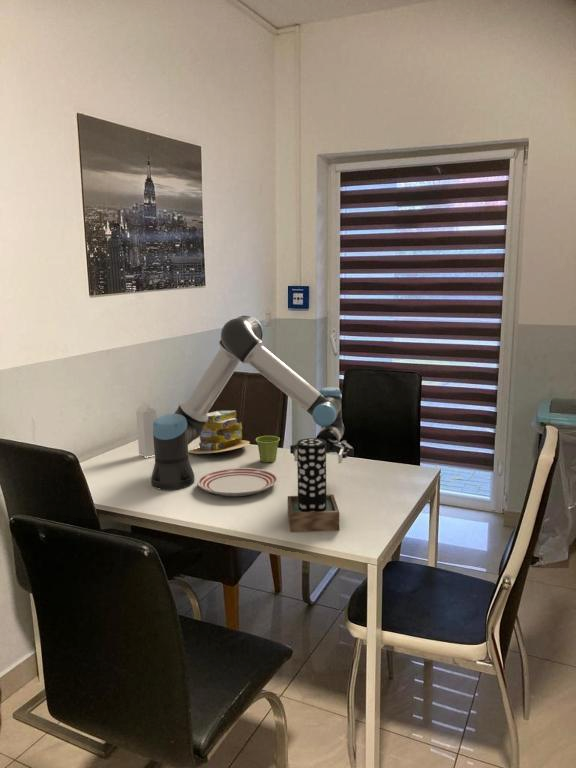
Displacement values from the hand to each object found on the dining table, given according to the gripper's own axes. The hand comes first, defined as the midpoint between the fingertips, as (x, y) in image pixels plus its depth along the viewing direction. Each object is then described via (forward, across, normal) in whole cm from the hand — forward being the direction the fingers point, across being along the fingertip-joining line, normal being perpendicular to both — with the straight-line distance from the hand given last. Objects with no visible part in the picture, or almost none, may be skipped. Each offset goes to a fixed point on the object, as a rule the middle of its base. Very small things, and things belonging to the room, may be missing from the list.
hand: (317, 458), depth 192 cm
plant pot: (-46, +28, -17) cm, 56 cm away
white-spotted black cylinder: (+10, 0, -12) cm, 16 cm away
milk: (-45, +77, -17) cm, 91 cm away
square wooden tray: (+10, 0, -16) cm, 19 cm away
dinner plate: (-15, +30, -17) cm, 38 cm away
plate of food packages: (-56, +50, -17) cm, 77 cm away
